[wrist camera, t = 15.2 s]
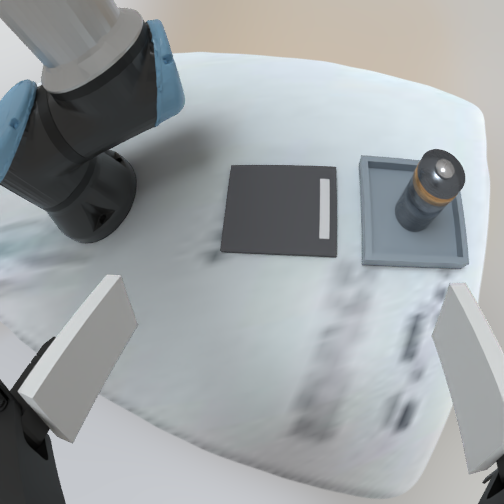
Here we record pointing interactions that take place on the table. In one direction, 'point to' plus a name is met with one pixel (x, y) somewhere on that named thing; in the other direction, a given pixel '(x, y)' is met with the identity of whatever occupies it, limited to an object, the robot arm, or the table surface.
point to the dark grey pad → (281, 210)
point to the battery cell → (429, 190)
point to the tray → (393, 234)
